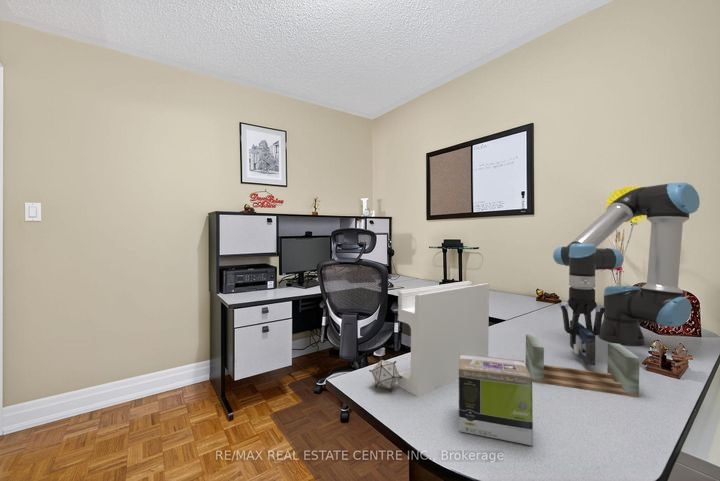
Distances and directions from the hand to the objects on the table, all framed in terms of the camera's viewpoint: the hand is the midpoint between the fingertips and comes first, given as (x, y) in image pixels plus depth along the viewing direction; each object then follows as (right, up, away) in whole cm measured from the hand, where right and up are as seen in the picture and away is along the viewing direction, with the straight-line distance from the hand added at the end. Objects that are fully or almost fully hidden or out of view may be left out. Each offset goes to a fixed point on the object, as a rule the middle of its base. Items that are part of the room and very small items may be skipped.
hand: (581, 353), depth 109 cm
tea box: (-48, -4, -37) cm, 61 cm away
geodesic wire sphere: (-71, -3, -20) cm, 74 cm away
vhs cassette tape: (0, -1, 0) cm, 1 cm away
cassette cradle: (-12, -3, -14) cm, 19 cm away
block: (-51, -3, -11) cm, 52 cm away
